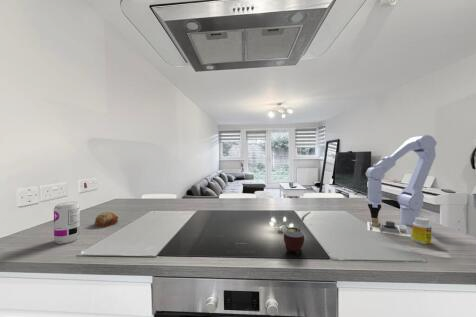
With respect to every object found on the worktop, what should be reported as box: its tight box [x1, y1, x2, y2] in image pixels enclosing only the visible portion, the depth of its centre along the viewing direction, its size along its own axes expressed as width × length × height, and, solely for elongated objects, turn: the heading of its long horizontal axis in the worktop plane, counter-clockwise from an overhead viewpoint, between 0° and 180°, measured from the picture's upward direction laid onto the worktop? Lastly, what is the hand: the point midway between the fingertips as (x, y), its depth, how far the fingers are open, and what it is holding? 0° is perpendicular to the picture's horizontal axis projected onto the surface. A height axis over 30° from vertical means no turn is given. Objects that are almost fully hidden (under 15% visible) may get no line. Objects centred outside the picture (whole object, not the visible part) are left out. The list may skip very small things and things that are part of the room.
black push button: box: [385, 220, 396, 228], centre depth 92 cm, size 3×3×2 cm
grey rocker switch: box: [398, 223, 408, 232], centre depth 91 cm, size 4×2×1 cm, turn 149°
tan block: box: [371, 218, 379, 227], centre depth 99 cm, size 3×2×3 cm
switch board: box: [366, 221, 412, 238], centre depth 95 cm, size 14×15×3 cm
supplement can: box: [53, 201, 81, 245], centre depth 86 cm, size 8×8×15 cm
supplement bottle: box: [411, 216, 432, 245], centre depth 81 cm, size 6×6×10 cm
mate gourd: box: [283, 211, 311, 257], centre depth 75 cm, size 8×8×15 cm
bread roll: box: [93, 211, 119, 228], centre depth 106 cm, size 10×10×8 cm
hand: (374, 219), depth 104 cm, fingers closed
